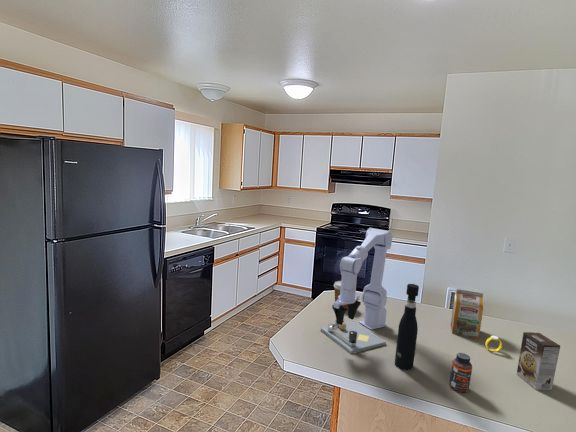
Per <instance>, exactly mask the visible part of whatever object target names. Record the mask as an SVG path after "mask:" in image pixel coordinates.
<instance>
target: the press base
mask: <svg viewBox="0 0 576 432" xmlns="http://www.w3.org/2000/svg"><path fill="white" fill-rule="evenodd" d="M334 325H337V329H339V330H340V331H342V332H343V333H345V334H346V335H347V336H349V332H350V331H355V332H357V341H356V346H352V347H351V346H350V345H349V344H347V343H346V342H344V341H343V340H342V339H340V338H339V337H338V336H336V335H335V334H334V333H332V332H329V331H328V330H327V329H328V326H324V327H320V332H322V333H323V334H324V335H326V336H327V337H328V338H329V339H331V340H332V341H333V342H334V343H336V344H337V345H338V346H340V347H341V348H342V349H343V350H345V351H346V352H347V353H348V354H350V355H351V354H355V353H359V352H363V351H367V350H370V349H374V348H378V347H382V346H386V344H387V340H384V339H383V338H382V337H380V336H377V335H376V334H374V333H373V332H371V331H370V330H368V328H366V327H365V326H362V324H361V325H360V323H358V322H356V321H349V322H348V321H347V322H345V319H343V324H342V325H340V324H337V321H336V320H335V324H334Z"/></svg>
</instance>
